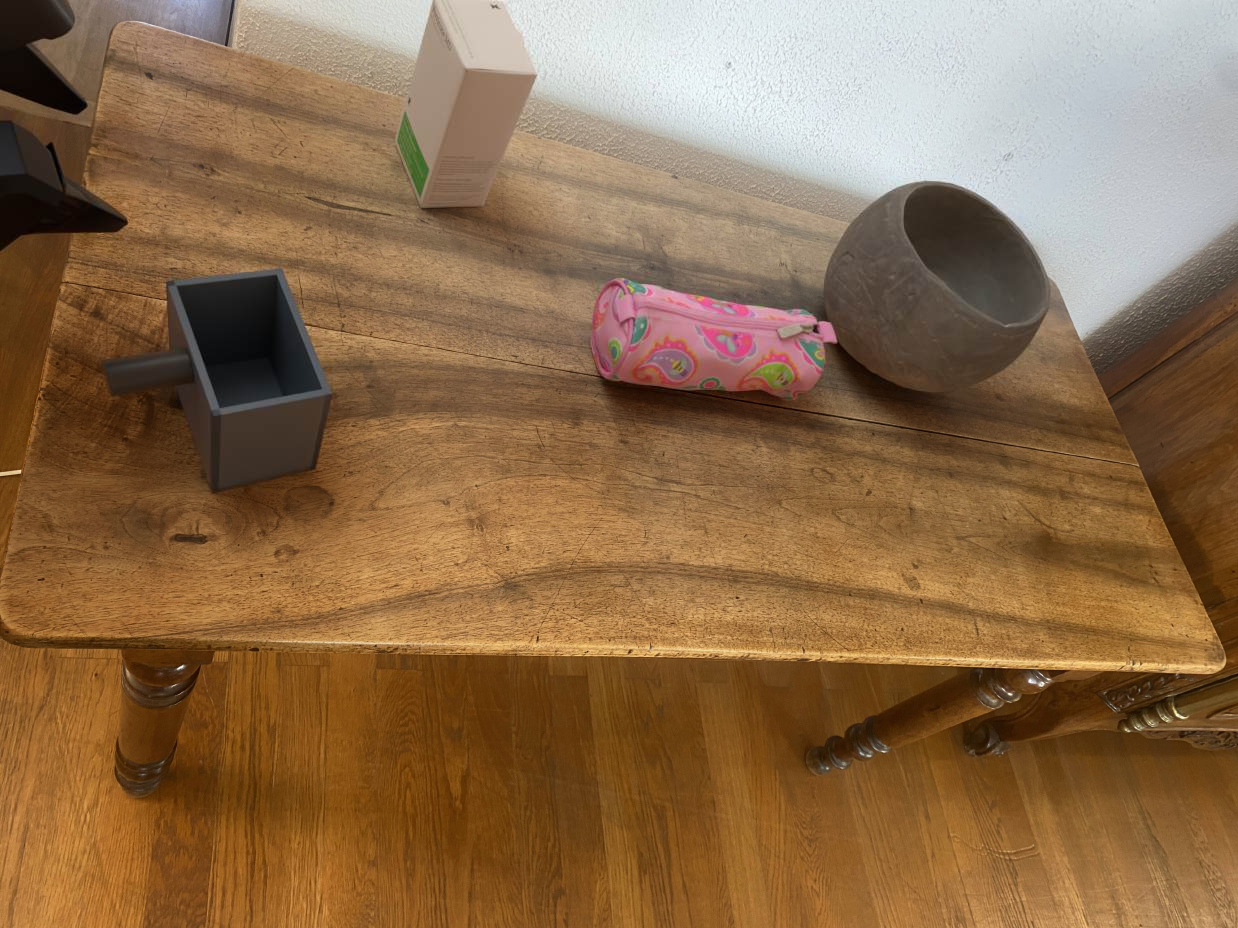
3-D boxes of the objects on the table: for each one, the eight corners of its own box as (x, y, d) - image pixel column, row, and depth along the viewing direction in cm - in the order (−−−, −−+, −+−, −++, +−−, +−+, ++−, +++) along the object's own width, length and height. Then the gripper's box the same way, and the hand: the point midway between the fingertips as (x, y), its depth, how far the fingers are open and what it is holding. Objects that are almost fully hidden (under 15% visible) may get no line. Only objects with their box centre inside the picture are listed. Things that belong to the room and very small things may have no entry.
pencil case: (776, 343, 88) (827, 286, 80) (797, 421, 83) (853, 368, 76) (576, 315, 79) (614, 248, 72) (589, 401, 75) (630, 339, 68)
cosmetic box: (392, 142, 80) (428, -11, 68) (460, 143, 84) (505, -3, 71) (421, 212, 78) (463, 66, 65) (489, 210, 81) (541, 71, 69)
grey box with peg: (137, 510, 56) (126, 433, 48) (97, 382, 59) (81, 289, 51) (316, 469, 62) (332, 393, 54) (272, 354, 65) (282, 268, 57)
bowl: (914, 270, 103) (1008, 177, 91) (986, 423, 94) (1100, 343, 83) (768, 256, 94) (851, 151, 82) (833, 425, 85) (937, 334, 73)
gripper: (-36, 28, 33) (255, 211, 47) (-125, -272, 38) (160, -25, 53) (-233, 193, 35) (104, 320, 49) (-291, -114, 40) (27, 82, 55)
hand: (101, 165), depth 52 cm, fingers open, 9 cm apart
